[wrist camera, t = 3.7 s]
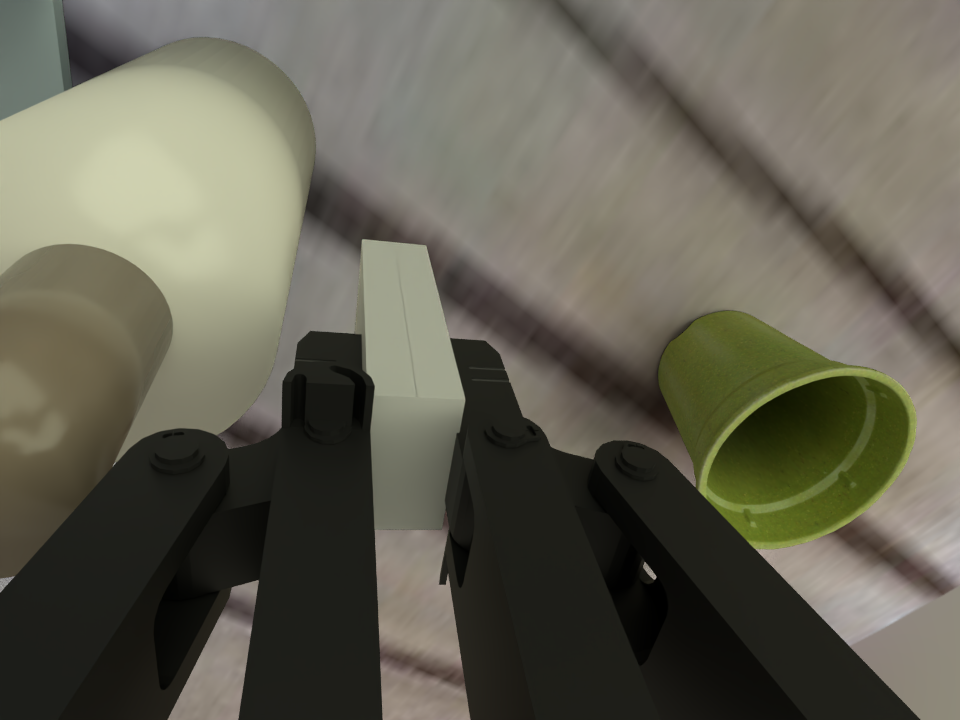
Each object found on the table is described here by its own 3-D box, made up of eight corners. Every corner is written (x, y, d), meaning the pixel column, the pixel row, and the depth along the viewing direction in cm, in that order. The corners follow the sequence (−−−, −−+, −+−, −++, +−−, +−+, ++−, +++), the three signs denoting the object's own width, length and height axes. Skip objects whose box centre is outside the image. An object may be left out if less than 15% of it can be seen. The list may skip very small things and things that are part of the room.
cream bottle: (320, 55, 24) (244, 270, 8) (311, 235, 28) (244, 663, 11) (112, 20, 23) (-575, 195, 6) (129, 216, 26) (-277, 680, 9)
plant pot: (631, 288, 32) (715, 388, 24) (815, 267, 33) (948, 356, 25) (619, 443, 37) (686, 564, 29) (780, 420, 38) (883, 531, 30)
